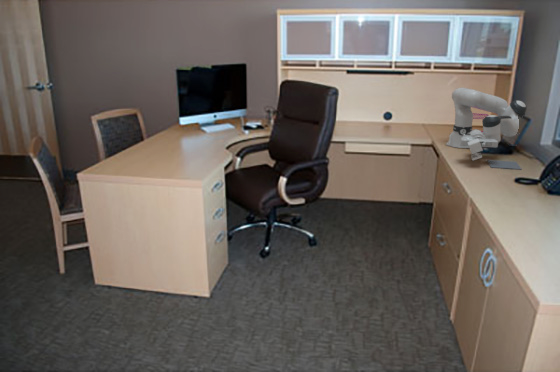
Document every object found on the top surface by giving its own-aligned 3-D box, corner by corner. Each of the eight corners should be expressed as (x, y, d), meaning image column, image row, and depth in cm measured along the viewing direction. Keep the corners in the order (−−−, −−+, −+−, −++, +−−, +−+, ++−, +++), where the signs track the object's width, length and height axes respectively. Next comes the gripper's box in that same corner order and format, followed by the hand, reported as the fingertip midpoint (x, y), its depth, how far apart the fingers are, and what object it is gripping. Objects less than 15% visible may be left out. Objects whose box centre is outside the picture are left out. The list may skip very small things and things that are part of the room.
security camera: (485, 156, 257) (479, 141, 255) (472, 160, 260) (466, 145, 258) (483, 153, 263) (477, 138, 261) (471, 157, 266) (465, 142, 263)
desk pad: (487, 160, 274) (487, 159, 274) (516, 162, 270) (516, 161, 269) (490, 167, 260) (490, 166, 259) (521, 169, 255) (521, 169, 255)
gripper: (495, 146, 269) (499, 152, 256) (459, 144, 275) (460, 149, 262) (497, 136, 267) (500, 141, 254) (460, 134, 273) (462, 139, 260)
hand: (480, 145), depth 258 cm, fingers closed on security camera
